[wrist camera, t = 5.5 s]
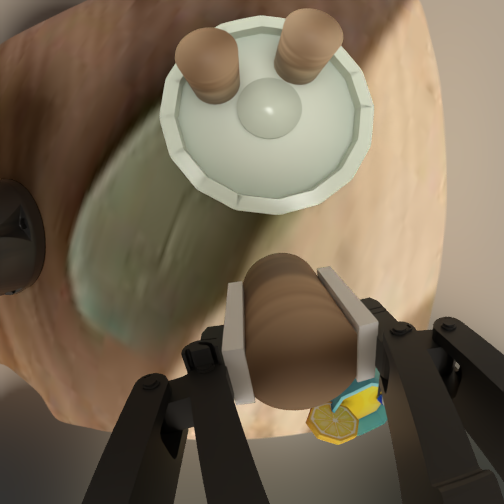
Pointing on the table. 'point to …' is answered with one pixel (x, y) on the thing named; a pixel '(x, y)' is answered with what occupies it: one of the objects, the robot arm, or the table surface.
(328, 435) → the cup
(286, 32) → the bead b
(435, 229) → the table surface
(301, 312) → the brown stubby piece
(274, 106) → the tray
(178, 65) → the brown rounded cylinder
